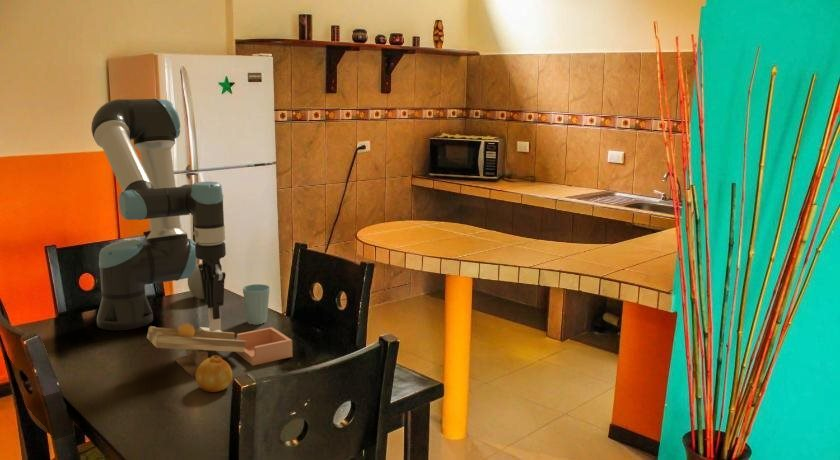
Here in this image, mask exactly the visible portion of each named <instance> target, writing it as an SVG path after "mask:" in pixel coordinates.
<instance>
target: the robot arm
mask: <svg viewBox="0 0 840 460" xmlns="http://www.w3.org/2000/svg"><path fill="white" fill-rule="evenodd" d="M91 134H92V138H93V140H94V142H95V143H96V145H97V146H98V147H100V148H102V150H103V152H104V154H105V157H106V159H107V160H108V163H109V165H110V167H111V170H112V172H113V175H114V176H115V178H116V181H117V183H118V185H119V186H120V189H121V192H120V194H119V196H118V207H119V210H120V211H119V212H120V214H121V217H122V218H123V219H125V220H127V221H132V220H133V221H134V220H137V221H141V220H148V221H149V227H150V228H149V229H150V232H149V233H148V235H147V237H146V239H145V240H146V244H143V241H141V240H139V239H130V240H129V239H127V240H121V241H116V242H112V243H110V244H107V245H105V246H104V247H103V248H101V249H100V251H99V255H98V257H99V259H98V267H99V275H100V276H99V277H100V290H101V291H100V292H101V300H100V304H99V309H98V312H97V316H96V326H97V327H98V328H99V329H102V330H108V331H127V330H134V329H135V330H136V329H140V328H143V327H145V326H147V325H150V324H151V323H152V322H153V321H154V315H153V310H152V307H151V305H150V303H149V300H148V298H147V295H146V285H151V284H159V283H166V282H172V281H179V280H184V279H188V278H189V277H190V276H192V274H193V273H194V271H195V268H196V265H197V264H199V266H198V267H199V270H200V275H201V282H202V289H203V296H204V299H203V301H204V302H205V303H206V305H207V312H208V313H207V315H208V317H207V318H208V328H209V330H210V331H216V330H222V320H221V319H222V317H221V306H224V301H225V300H224V299H225V298H224V297H225V296H224V295H225V279H226V275H227V274H226V272H224V271H222V264H221V259H222V258H225V256H226V255H227V252H226V243H225V242H224V241H226V228H225V217H224V193H223V188H222V184H220V182H217V181H198V182H195V183H194V182H193V184H188V183H186V184H183V185H180V186H176V185H177V184H176V179H175V172H174V162H173V157H172V155H173V154H172V148H174V146H175V144H176V139H177V138H179V136H180V134H181V120H180V117H179V114H178V111H177V108H176V106H175V105H174V104H173V103H172V102H171V100H168V99H159V98H140V99H139V98H136V99H135V98H134V99H132V98H131V99H130V98H129V99H128V98H127V99H124V98H121V99H120V98H116V99H113V100H110V101H107V102H106V103H104V104H103V105H102V106H100V108H98V109H97V111H96V113H95V114H94V116H93V118H92V121H91ZM132 141H133V143H132ZM137 150H138V151H139V152H140V157H139V154H138V153H137ZM188 215H190V216H192V219H193V231H192V235H193V236H194V240H193V239H191V238H188V237H189V236H188V233H187V232H186V231H185V230H184V229H183V228H182V224H181V218H180V217H181V216H188ZM198 260H201V263H202V264H200V263H197V262H198Z"/></svg>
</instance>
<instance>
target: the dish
mask: <svg viewBox="0 0 840 460" xmlns="http://www.w3.org/2000/svg"><path fill="white" fill-rule="evenodd" d="M236 340H244V341H246V343H245V348H244V352H236V351H234V352H235V353H236V354H237V355H238V356H240V357H241V358H242V359H243V360H245V361H246V362H248V364H250V365H251V366H253V367H254V366H256V365H257V366H258V365H262V364H266V363H271V362H275V361H278V360H279V361H280V360H283V359H288V358H293V340H292V339H291V338H290V337H288V336H286V335H285V334H284V333H282V332H280V331H279V330H278V329H276V328H274V327H273V326H271V327H265V328H260V329H254V330H250V331H244V332H240V333H236Z"/></svg>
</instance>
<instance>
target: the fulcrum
mask: <svg viewBox="0 0 840 460" xmlns="http://www.w3.org/2000/svg"><path fill="white" fill-rule="evenodd" d="M185 350H186V355H183V356H178V357H175V361H176V363H177V364H178V365H180V367H182V369H183V370H184V371H186V373H188V375H190V376H191V377H196V376H195V375H196V371H197V369H198V367H199V365H200V364H201V363H202V362H203V361H205V360H206V359H208V358H210V357H209V353H208V352H207V350H194V349H185Z"/></svg>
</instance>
